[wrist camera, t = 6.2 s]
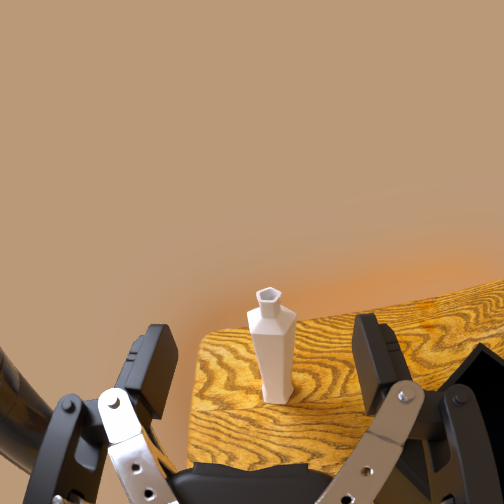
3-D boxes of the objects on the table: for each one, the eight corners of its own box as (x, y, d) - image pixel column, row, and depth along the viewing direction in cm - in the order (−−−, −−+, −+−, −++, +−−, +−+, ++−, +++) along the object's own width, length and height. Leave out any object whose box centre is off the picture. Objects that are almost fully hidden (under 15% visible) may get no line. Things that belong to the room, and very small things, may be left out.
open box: (438, 567, 9) (494, 559, 4) (352, 479, 21) (374, 445, 16) (524, 462, 14) (575, 417, 9) (448, 396, 27) (479, 341, 22)
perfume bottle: (301, 403, 31) (302, 307, 23) (263, 410, 30) (248, 316, 23) (292, 373, 35) (289, 275, 27) (257, 380, 34) (242, 283, 27)
